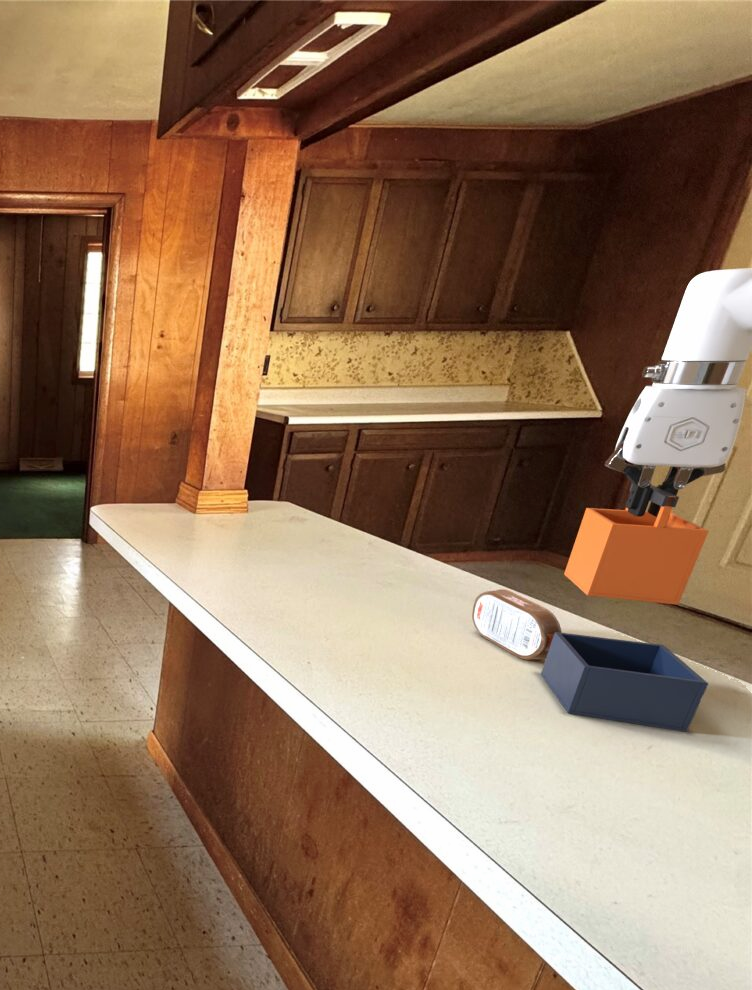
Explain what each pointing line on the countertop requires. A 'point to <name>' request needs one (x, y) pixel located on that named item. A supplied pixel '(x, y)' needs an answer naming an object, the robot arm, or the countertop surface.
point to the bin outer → (622, 681)
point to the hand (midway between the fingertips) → (645, 514)
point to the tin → (515, 623)
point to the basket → (636, 553)
